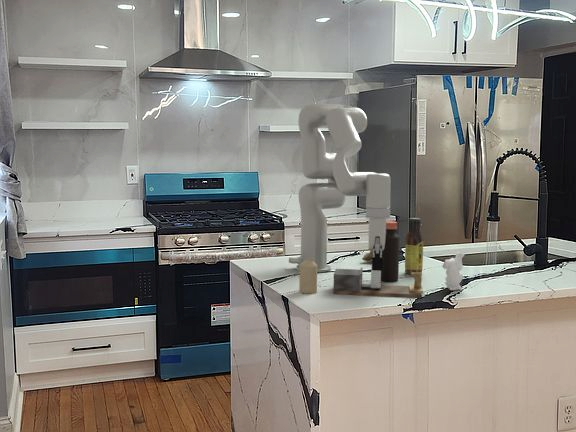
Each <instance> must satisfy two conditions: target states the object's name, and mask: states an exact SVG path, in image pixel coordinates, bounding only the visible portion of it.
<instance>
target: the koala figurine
mask: <svg viewBox="0 0 576 432" xmlns="http://www.w3.org/2000/svg"><path fill="white" fill-rule="evenodd" d="M465 255H466V253H465V252H458V251H457V252H456V253H455V257H450V259H445V261H443V263H442V266H441V267H442V269H444V270H445V274H446V277H445V281H444V284H445V286H446V288H447V289H449V290H450V291H456V290H458V291H459V290H463V288H462V286H461V284H460V283H461V282H462V281H463V278H464V275H463V273H460V271H462V270H463V268H464V267H463V260H462V259H463V258H464V256H465Z"/></svg>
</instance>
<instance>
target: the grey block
mask: <svg viewBox="0 0 576 432" xmlns="http://www.w3.org/2000/svg"><path fill="white" fill-rule="evenodd" d="M370 267H371V268H370V269H371V271H370V284H365V283H362V286H361V288H369V289H380V288H381V285H382V283H381V282H382V281H381V271H375V270H372V264H371V266H370Z"/></svg>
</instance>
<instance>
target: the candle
mask: <svg viewBox="0 0 576 432" xmlns="http://www.w3.org/2000/svg"><path fill="white" fill-rule="evenodd" d="M298 282H299V283H298V284H299V287H298V289H299V293H301V294H307V295H309V294H316V293H317V292H318V272H317V264H316V263H315V262H314V261H310V260H305V261H304V262H303V263H301V264H300V271H299V281H298Z"/></svg>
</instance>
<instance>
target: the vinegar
mask: <svg viewBox="0 0 576 432" xmlns="http://www.w3.org/2000/svg"><path fill="white" fill-rule="evenodd" d="M397 231H398V222H397V221H391V220H390V221H389V220H386V239H385V247H384V250H383V251H382V253H383V270H382V271H381V282H385V283H393V282H394V283H395V282H398V281H399V268H400V267H399V266H400V264H399V263H400V240H401V239H400V236H399V234H397Z"/></svg>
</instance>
